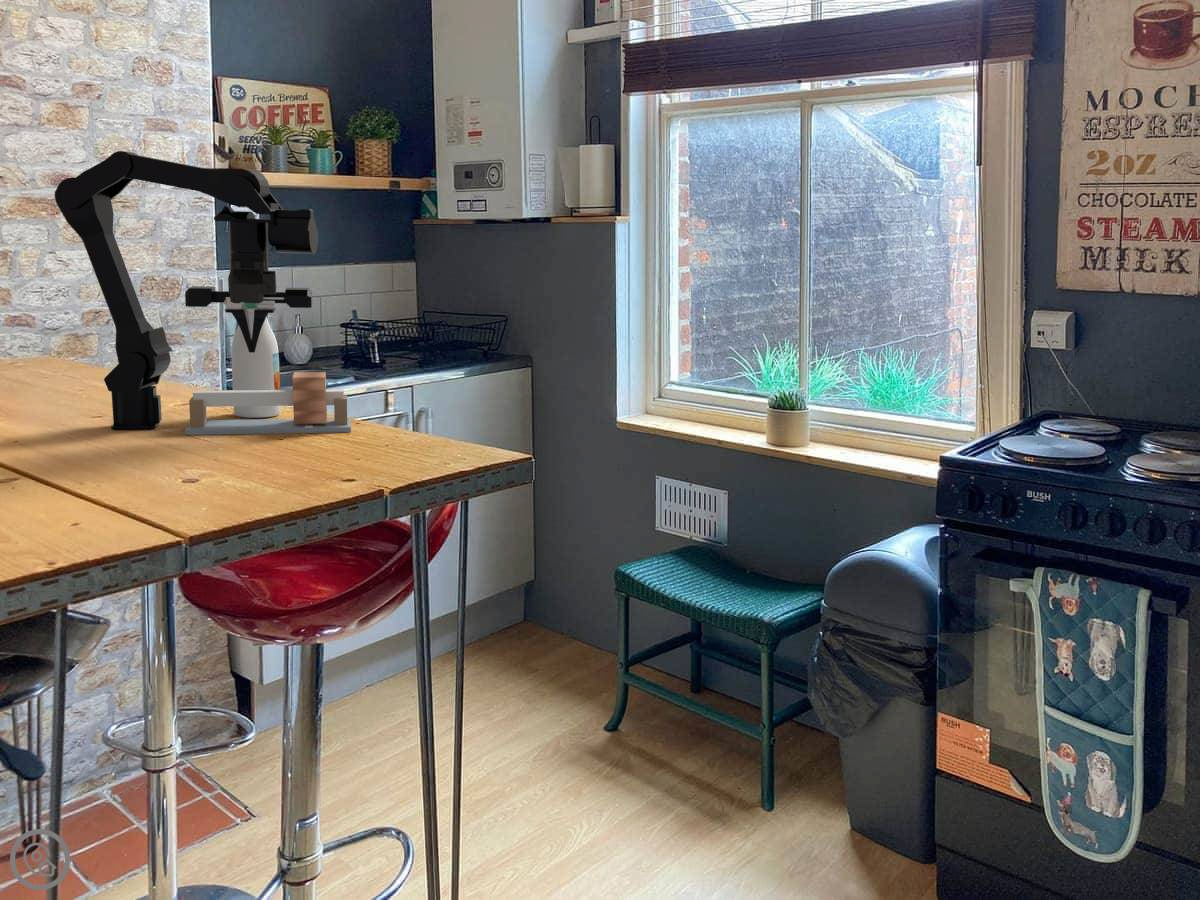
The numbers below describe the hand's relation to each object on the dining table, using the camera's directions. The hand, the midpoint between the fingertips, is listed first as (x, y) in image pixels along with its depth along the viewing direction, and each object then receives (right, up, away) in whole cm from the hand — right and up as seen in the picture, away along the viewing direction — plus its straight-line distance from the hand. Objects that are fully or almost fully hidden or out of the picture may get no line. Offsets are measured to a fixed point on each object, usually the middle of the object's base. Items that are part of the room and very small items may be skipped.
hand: (252, 352), depth 180 cm
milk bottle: (-4, -10, +15) cm, 18 cm away
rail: (+2, -12, +3) cm, 13 cm away
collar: (+8, -11, +4) cm, 14 cm away
